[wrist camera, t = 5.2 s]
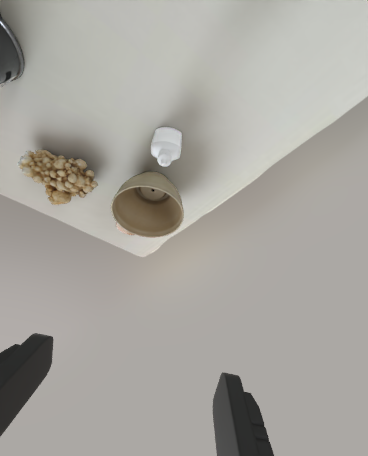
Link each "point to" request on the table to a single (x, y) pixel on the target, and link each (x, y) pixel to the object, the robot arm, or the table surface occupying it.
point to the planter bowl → (148, 206)
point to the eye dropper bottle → (166, 145)
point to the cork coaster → (123, 229)
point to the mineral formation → (58, 175)
